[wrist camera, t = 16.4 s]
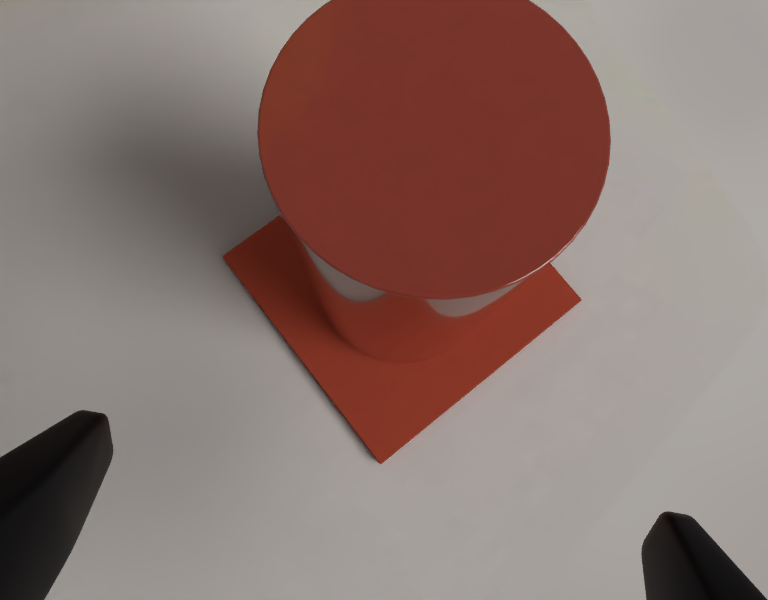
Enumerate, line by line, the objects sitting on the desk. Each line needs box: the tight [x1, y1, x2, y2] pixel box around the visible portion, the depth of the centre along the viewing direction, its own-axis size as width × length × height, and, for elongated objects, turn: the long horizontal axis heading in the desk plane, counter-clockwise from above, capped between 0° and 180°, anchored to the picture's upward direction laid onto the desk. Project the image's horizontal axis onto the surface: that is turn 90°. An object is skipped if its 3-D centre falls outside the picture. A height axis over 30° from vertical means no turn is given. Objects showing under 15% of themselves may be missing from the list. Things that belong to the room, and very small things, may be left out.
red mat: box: [223, 215, 581, 464], centre depth 21 cm, size 9×9×1 cm
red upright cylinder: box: [257, 0, 611, 363], centre depth 15 cm, size 6×6×11 cm
